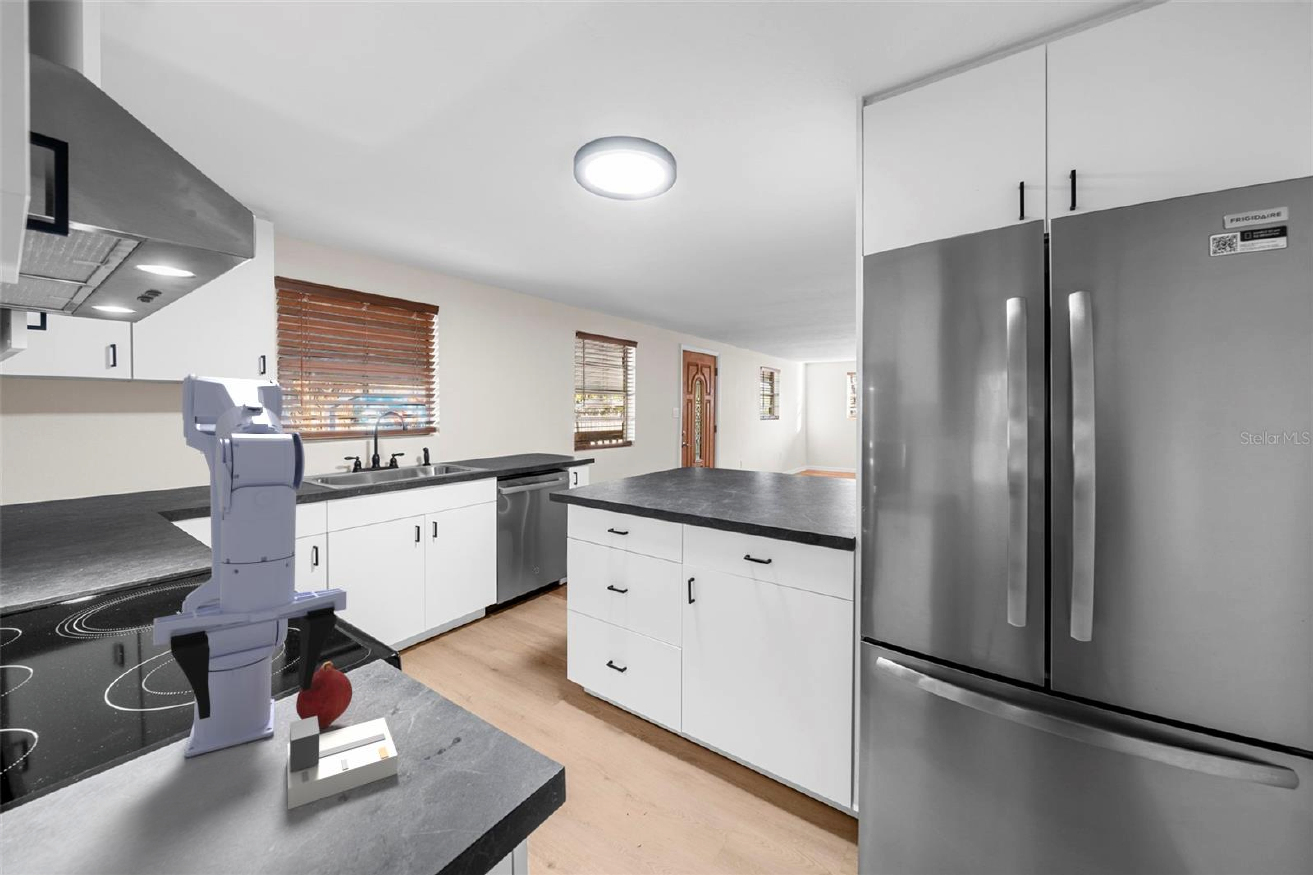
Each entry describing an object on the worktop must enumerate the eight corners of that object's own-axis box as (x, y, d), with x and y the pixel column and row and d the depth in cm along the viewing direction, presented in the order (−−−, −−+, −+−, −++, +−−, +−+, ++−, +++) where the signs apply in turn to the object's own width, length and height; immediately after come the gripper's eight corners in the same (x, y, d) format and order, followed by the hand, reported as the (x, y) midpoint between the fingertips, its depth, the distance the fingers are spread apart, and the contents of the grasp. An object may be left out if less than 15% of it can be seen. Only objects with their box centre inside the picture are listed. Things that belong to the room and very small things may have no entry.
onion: (324, 744, 61) (325, 676, 61) (283, 737, 62) (284, 670, 62) (362, 718, 66) (363, 655, 66) (323, 712, 68) (325, 651, 68)
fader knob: (289, 752, 56) (290, 722, 56) (316, 744, 57) (317, 715, 57) (290, 772, 52) (291, 740, 52) (318, 764, 54) (319, 733, 54)
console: (286, 761, 57) (287, 742, 57) (383, 733, 63) (384, 716, 63) (287, 809, 50) (288, 788, 50) (397, 773, 56) (397, 754, 56)
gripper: (154, 578, 42) (151, 747, 42) (355, 553, 52) (353, 689, 52) (154, 564, 47) (151, 715, 47) (337, 543, 57) (335, 668, 57)
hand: (257, 700), depth 50 cm, fingers open, 7 cm apart
